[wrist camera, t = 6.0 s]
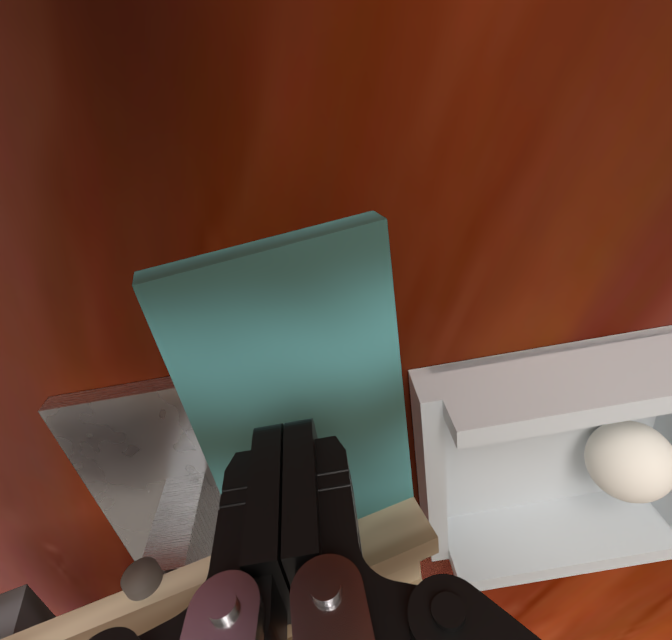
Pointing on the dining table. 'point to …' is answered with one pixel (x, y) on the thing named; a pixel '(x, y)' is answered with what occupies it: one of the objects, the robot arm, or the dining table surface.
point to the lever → (272, 396)
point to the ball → (630, 461)
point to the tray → (539, 458)
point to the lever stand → (141, 467)
